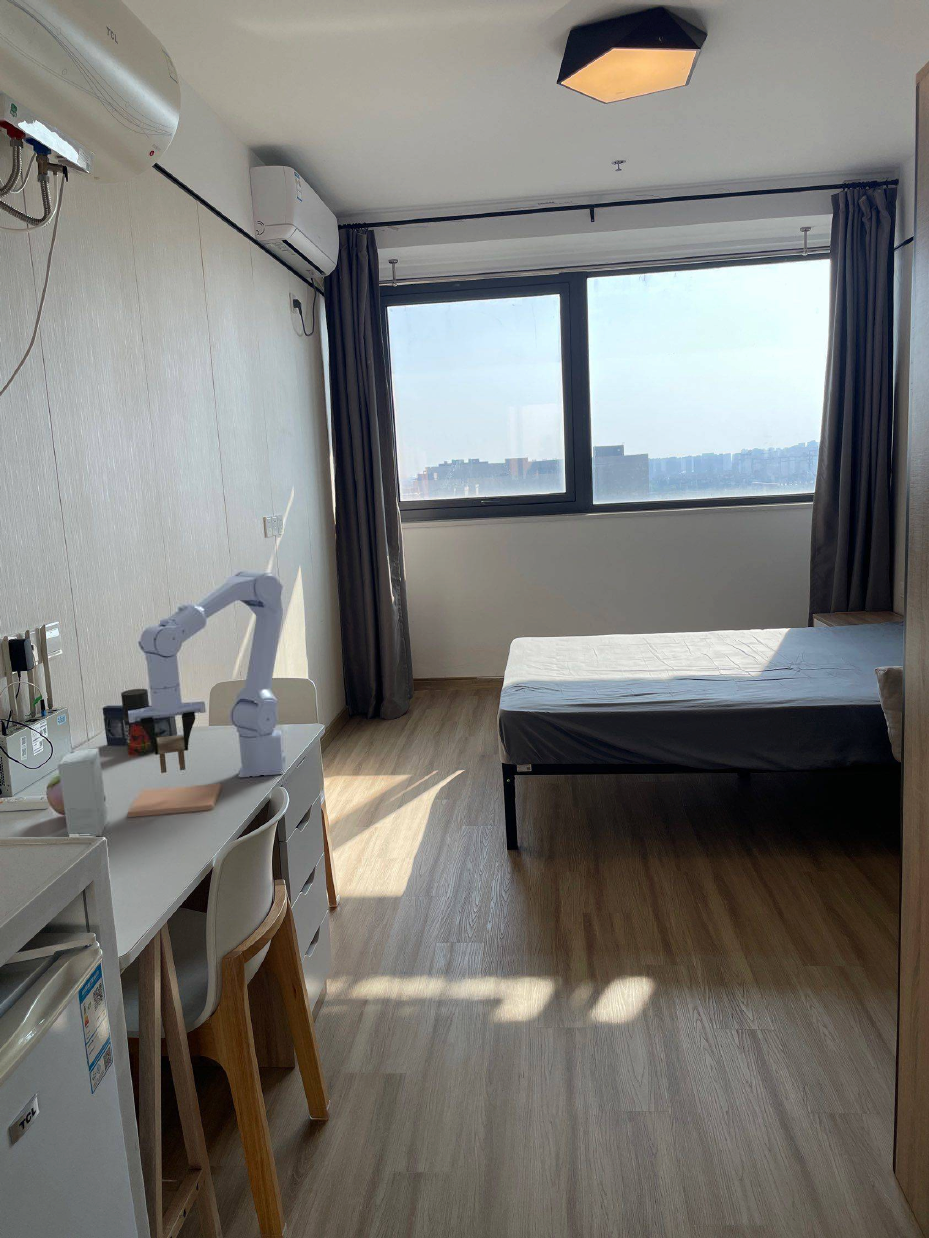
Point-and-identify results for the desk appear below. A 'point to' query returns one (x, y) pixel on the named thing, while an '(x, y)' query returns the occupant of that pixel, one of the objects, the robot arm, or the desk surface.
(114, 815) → the desk surface
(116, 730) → the vhs cassette tape
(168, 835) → the desk surface
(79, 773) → the skincare box
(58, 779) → the decorative fruit
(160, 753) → the stool
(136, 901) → the desk surface
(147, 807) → the mat
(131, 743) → the deodorant
